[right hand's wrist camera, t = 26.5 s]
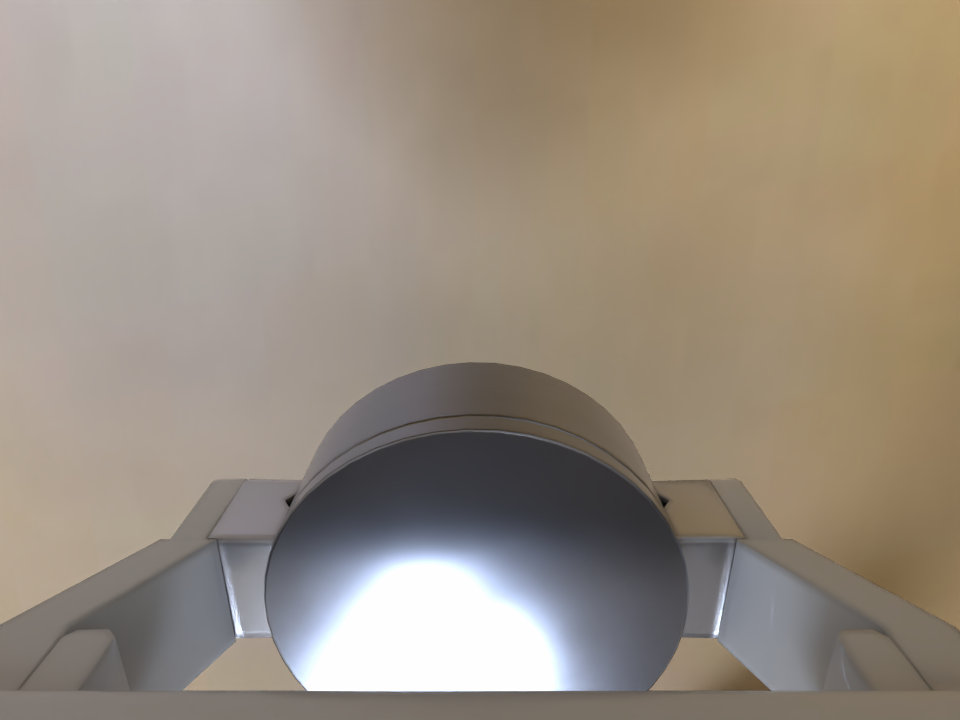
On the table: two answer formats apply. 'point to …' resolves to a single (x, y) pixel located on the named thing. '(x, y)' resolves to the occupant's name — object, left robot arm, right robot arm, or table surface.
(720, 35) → the table surface
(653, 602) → the lid
